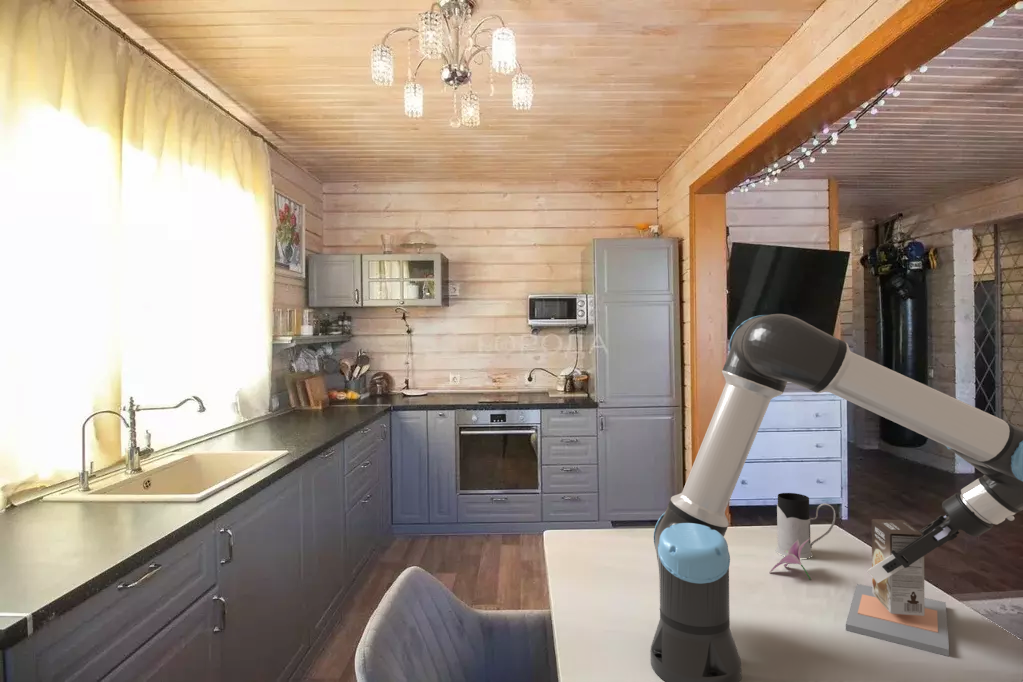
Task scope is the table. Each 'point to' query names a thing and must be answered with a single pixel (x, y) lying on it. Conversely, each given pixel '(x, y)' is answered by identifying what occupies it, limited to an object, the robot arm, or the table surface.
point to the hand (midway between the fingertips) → (880, 568)
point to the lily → (792, 556)
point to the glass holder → (795, 523)
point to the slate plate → (899, 622)
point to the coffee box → (906, 584)
